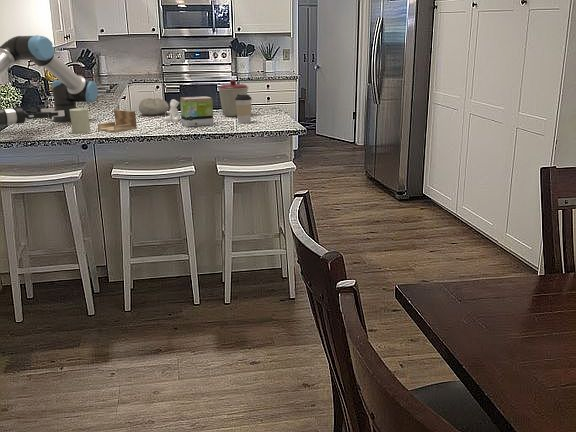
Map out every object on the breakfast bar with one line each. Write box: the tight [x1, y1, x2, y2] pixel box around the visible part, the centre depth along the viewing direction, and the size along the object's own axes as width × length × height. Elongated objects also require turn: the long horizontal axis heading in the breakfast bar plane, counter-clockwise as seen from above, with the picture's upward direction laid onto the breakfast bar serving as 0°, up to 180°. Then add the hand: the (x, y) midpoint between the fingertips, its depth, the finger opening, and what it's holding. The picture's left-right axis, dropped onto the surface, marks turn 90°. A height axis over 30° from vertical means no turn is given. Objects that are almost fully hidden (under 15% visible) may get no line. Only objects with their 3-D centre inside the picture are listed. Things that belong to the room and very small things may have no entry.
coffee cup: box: [235, 94, 252, 124], centre depth 323 cm, size 9×9×15 cm
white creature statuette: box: [162, 98, 181, 123], centre depth 333 cm, size 10×9×12 cm
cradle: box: [97, 109, 138, 134], centre depth 308 cm, size 14×14×9 cm
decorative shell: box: [138, 97, 170, 116], centre depth 358 cm, size 18×18×10 cm
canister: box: [217, 78, 250, 118], centre depth 347 cm, size 18×18×21 cm
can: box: [69, 107, 92, 134], centre depth 303 cm, size 9×9×12 cm
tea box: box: [179, 95, 214, 128], centre depth 318 cm, size 15×10×15 cm, turn 117°
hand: (59, 111), depth 295 cm, fingers open, 13 cm apart
